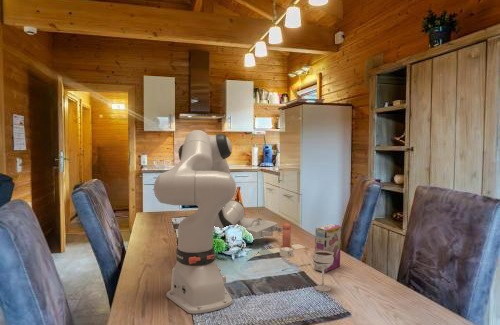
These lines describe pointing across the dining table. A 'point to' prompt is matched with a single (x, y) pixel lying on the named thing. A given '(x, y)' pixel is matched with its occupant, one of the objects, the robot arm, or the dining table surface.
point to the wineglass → (323, 264)
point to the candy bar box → (329, 243)
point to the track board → (277, 250)
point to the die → (286, 252)
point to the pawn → (286, 236)
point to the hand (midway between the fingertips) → (277, 232)
